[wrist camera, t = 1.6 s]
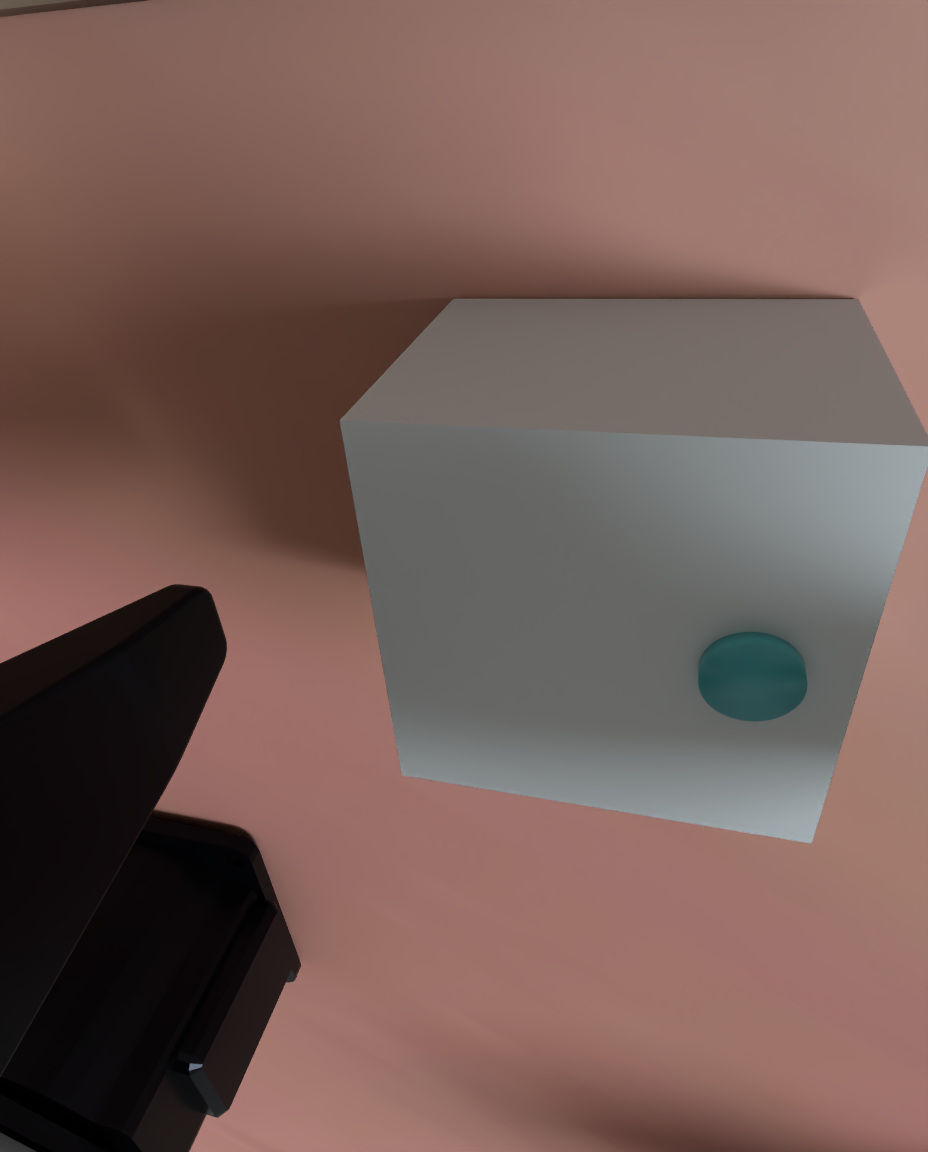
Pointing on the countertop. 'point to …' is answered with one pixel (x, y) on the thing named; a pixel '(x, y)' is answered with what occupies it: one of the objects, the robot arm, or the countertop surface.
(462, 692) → the white cube
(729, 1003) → the countertop surface
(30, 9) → the post stand
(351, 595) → the countertop surface
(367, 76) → the countertop surface
